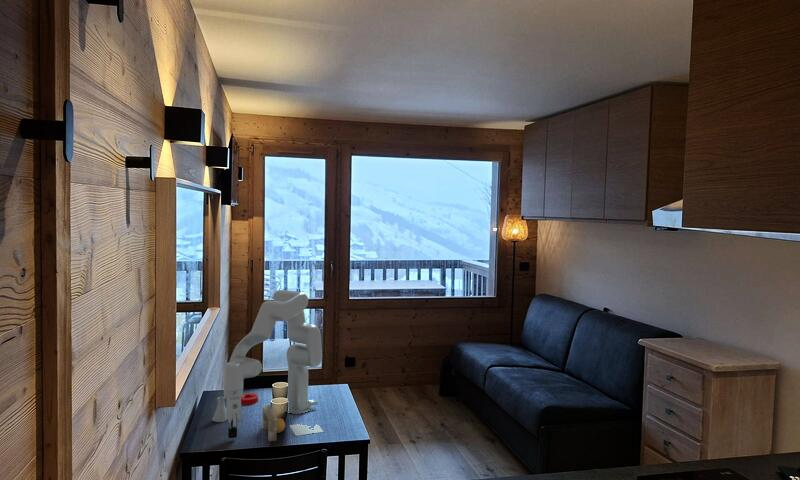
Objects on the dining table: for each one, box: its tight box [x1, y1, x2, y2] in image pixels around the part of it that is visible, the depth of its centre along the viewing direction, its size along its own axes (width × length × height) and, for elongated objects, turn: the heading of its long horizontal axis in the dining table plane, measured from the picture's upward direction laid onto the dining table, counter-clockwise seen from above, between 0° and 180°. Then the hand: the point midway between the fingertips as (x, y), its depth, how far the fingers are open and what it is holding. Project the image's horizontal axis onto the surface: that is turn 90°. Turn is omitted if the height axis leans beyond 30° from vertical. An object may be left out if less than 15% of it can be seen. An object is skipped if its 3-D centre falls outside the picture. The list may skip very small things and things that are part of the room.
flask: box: [211, 396, 228, 423], centre depth 234 cm, size 7×7×10 cm
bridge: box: [261, 404, 278, 442], centre depth 219 cm, size 3×15×10 cm, turn 25°
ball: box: [277, 417, 286, 434], centre depth 221 cm, size 6×6×6 cm
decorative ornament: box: [241, 392, 259, 406], centre depth 258 cm, size 10×10×3 cm
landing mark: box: [288, 423, 324, 437], centre depth 226 cm, size 12×12×1 cm
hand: (232, 437), depth 212 cm, fingers closed
